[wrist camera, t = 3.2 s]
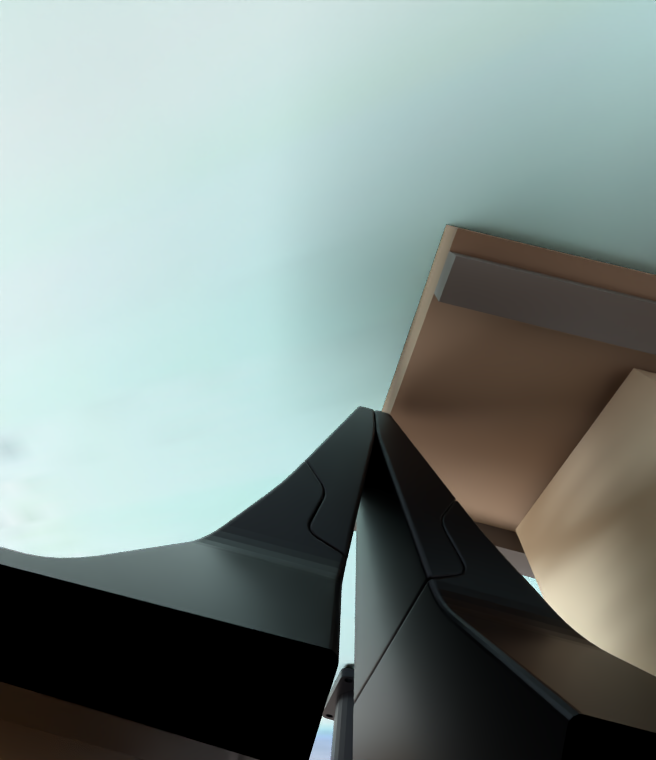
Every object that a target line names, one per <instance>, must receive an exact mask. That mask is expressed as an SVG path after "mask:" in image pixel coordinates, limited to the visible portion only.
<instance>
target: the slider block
mask: <svg viewBox="0 0 656 760" xmlns="http://www.w3.org/2000/svg"><path fill="white" fill-rule="evenodd" d="M515 530H516V533H517V535H518V537H519V540H520V542H521V545H522V547H523V550H524V552H525V554H526V557H527V559H528V562H529V564H530V566H531V569H532V571H533V574H534V576H535V579H536V581H537V583H538V586H539V588H540V591H541V593H542V595H543V598H544V600H545V601H546V602H547V603H548V604H549V605H550V606H551V608H552V609H553V610H554V611H555V612H556V613H557V614H558V615H559V616H560V617H561V618H562V619H563V620H564V621H565V622H566V623H567V624H568V625H569V626H571V627H572V628H573V629H574V630H575V631H576V632H578V633H579V634H580V635H582V636H583V637H584V638H586V639H587V640H588V641H590V642H591V643H593V644H594V645H596V646H598V647H599V648H601V649H602V650H604V651H606V652H608V653H610V654H612V655H614V656H616V657H618V658H620V659H622V660H624V661H626V662H628V663H630V664H632V665H634V666H636V667H638V668H640V669H642V670H644V671H646V672H648V673H650V674H652V675H654V676H656V373H652V372H648V371H644V370H640V369H636V368H633V370H632V371H631V372H630V374H629V375H628V376H627V378H626V379H625V381H624V382H623V383H622V385H621V386H620V387H619V389H618V390H617V391H616V393H615V394H614V396H613V397H612V398H611V400H610V401H609V402H608V404H607V405H606V406H605V408H604V409H603V411H602V412H601V413H600V415H599V416H598V417H597V419H596V420H595V422H594V423H593V424H592V426H591V427H590V428H589V430H588V431H587V432H586V434H585V435H584V437H583V438H582V439H581V441H580V442H579V443H578V445H577V446H576V447H575V449H574V450H573V452H572V453H571V454H570V456H569V457H568V458H567V460H566V461H565V462H564V464H563V465H562V467H561V468H560V469H559V471H558V472H557V473H556V475H555V476H554V478H553V479H552V480H551V482H550V483H549V484H548V486H547V487H546V488H545V490H544V491H543V493H542V494H541V495H540V497H539V498H538V499H537V501H536V502H535V503H534V505H533V506H532V508H531V509H530V510H529V512H528V513H527V514H526V516H525V517H524V518H523V520H522V521H521V523H520V524H519V525H518V527H517V528H516V529H515Z"/></svg>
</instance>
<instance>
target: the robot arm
mask: <svg viewBox="0 0 656 760" xmlns="http://www.w3.org/2000/svg"><path fill="white" fill-rule="evenodd" d="M356 519H357V532H356V595H355V658H354V669H351V668H343V669H342V670H341V671H340V673H339V675H338V677H337V679H336V681H335V683H334V685H333V687H332V689H331V686H332V683H333V680H334V677H335V674H336V670H337V667H338V662H339V639H340V614H341V590H342V582H343V576H344V571H345V566H346V561H347V558H348V553H349V549H350V545H351V540H352V536H353V532H354V527H355V523H356ZM330 689H331V691H330ZM329 692H330V693H329ZM322 716H323V717H325V718H327V719H331V720H334V727H333V738H332V749H331V760H656V676H654V675H652V674H650V673H648V672H646V671H644V670H642V669H640V668H638V667H636V666H634V665H632V664H630V663H628V662H626V661H624V660H622V659H620V658H618V657H616V656H614V655H612V654H610V653H608V652H606V651H604V650H602V649H601V648H599V647H598V646H596V645H594V644H593V643H591V642H590V641H588V640H587V639H586V638H584V637H583V636H582V635H580V634H579V633H578V632H576V631H575V630H574V629H573V628H572V627H571V626H569V625H568V624H567V623H566V622H565V621H564V620H563V619H562V618H561V617H560V616H559V615H558V614H557V613H556V612H555V611H554V610H553V609H552V608H551V606H550V605H549V604H548V603H547V602H546V601H545V600H544V599H543V598H542V597H541V596H540V594H539V593H538V592H537V591H536V590H535V589H534V588H533V587H532V586H531V585H530V584H529V583H528V581H527V580H526V579H525V578H524V577H523V576H522V575H521V574H520V573H519V572H518V571H517V569H516V568H515V567H514V566H513V565H512V564H511V563H510V562H509V561H508V560H507V559H506V557H505V556H504V555H503V554H502V553H501V552H500V551H499V550H498V549H497V547H496V546H495V545H494V544H493V543H492V542H491V541H490V540H489V538H488V537H487V536H486V535H485V534H484V533H483V532H482V530H481V529H480V528H479V527H478V525H477V524H476V523H475V522H474V521H473V519H472V518H471V517H470V516H469V514H468V513H467V512H466V511H465V509H464V508H463V507H462V506H461V504H460V503H459V502H458V501H456V498H455V497H454V496H453V494H452V493H451V492H450V490H449V489H448V488H447V487H446V485H445V484H444V483H443V481H442V480H441V479H440V478H439V476H438V475H437V474H436V472H435V471H434V470H433V469H432V467H431V466H430V465H429V464H428V462H427V461H426V460H425V458H424V457H423V456H422V455H421V453H420V452H419V451H418V449H417V448H416V447H415V446H414V444H413V443H412V442H411V440H410V439H409V438H408V437H407V435H406V434H405V433H404V432H403V430H402V429H401V428H400V426H399V425H398V424H397V423H396V421H395V420H394V419H393V417H392V416H391V415H390V414H389V413H385V412H381V411H374V410H373V409H369V408H365V407H361V406H360V407H358V408H357V409H356V410H355V411H354V412H353V413H352V414H351V415H350V416H349V417H348V418H347V419H346V420H345V421H344V422H343V423H342V424H341V425H340V426H339V427H338V428H337V429H336V430H335V431H334V432H333V433H332V434H331V435H330V436H329V437H328V438H327V439H326V440H325V441H324V442H323V443H322V444H321V445H320V446H319V447H318V448H317V449H316V450H315V451H314V452H313V453H312V454H311V455H310V456H309V457H308V458H307V459H306V460H305V462H303V463H302V464H301V465H300V466H299V467H298V468H297V469H296V470H295V471H294V472H293V473H292V474H291V475H289V476H288V477H287V478H286V479H285V480H284V481H283V482H282V483H280V484H279V485H278V486H277V487H275V488H274V489H273V490H271V491H270V492H269V493H268V494H266V495H265V496H263V497H262V498H261V499H259V500H258V501H257V502H255V503H254V504H252V505H251V506H250V507H248V508H247V509H246V510H244V511H243V512H241V513H240V514H239V515H237V516H236V517H235V518H233V519H232V520H230V521H229V522H228V523H226V524H225V525H224V526H222V527H221V528H219V529H218V530H216V531H214V532H213V533H211V534H209V535H207V536H205V537H203V538H201V539H198V540H195V541H191V542H185V543H179V544H172V545H165V546H159V547H152V548H146V549H139V550H132V551H126V552H119V553H112V554H106V555H99V556H90V557H81V558H54V557H42V556H36V555H31V554H26V553H22V552H18V551H14V550H11V549H7V548H3V547H0V760H309V757H310V754H311V751H312V747H313V744H314V741H315V737H316V734H317V731H318V728H319V724H320V721H321V718H322Z"/></svg>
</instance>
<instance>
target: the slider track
mask: <svg viewBox="0 0 656 760" xmlns="http://www.w3.org/2000/svg"><path fill="white" fill-rule="evenodd" d="M633 368H636V369H640V370H644V371H648V372H652V373H656V275H655V274H650V273H646V272H642V271H638V270H634V269H630V268H625V267H621V266H617V265H613V264H609V263H605V262H600V261H596V260H592V259H588V258H584V257H580V256H575V255H571V254H567V253H563V252H559V251H555V250H550V249H546V248H542V247H538V246H534V245H530V244H525V243H521V242H517V241H513V240H509V239H505V238H500V237H496V236H492V235H488V234H484V233H479V232H475V231H471V230H467V229H463V228H459V227H454V226H450V225H446V227H445V230H444V233H443V235H442V238H441V241H440V244H439V247H438V250H437V253H436V256H435V259H434V261H433V264H432V267H431V270H430V273H429V276H428V279H427V282H426V285H425V287H424V290H423V293H422V296H421V299H420V302H419V305H418V308H417V310H416V313H415V316H414V319H413V322H412V325H411V328H410V331H409V334H408V336H407V339H406V342H405V345H404V348H403V351H402V354H401V357H400V360H399V362H398V365H397V368H396V371H395V374H394V377H393V380H392V383H391V386H390V388H389V391H388V394H387V397H386V400H385V403H384V406H383V409H382V412H385V413H389V414H390V415H391V416H392V417H393V419H394V420H395V421H396V423H397V424H398V425H399V426H400V428H401V429H402V430H403V432H404V433H405V434H406V435H407V437H408V438H409V439H410V440H411V442H412V443H413V444H414V446H415V447H416V448H417V449H418V451H419V452H420V453H421V455H422V456H423V457H424V458H425V460H426V461H427V462H428V464H429V465H430V466H431V467H432V469H433V470H434V471H435V472H436V474H437V475H438V476H439V478H440V479H441V480H442V481H443V483H444V484H445V485H446V487H447V488H448V489H449V490H450V492H451V493H452V494H453V496H454V497H455V498H456V501H458V502H459V503H460V504H461V506H462V507H463V508H464V509H465V511H466V512H467V513H468V514H469V516H470V517H471V518H472V519H473V521H474V522H475V523H476V524H477V525H478V527H479V528H480V529H481V530H482V532H483V533H484V534H485V535H486V536H487V537H488V538H489V540H490V541H491V542H492V543H493V544H494V545H495V546H496V547H497V549H498V550H499V551H500V552H501V553H502V554H503V555H504V556H505V557H506V559H507V560H508V561H509V562H510V563H511V564H512V565H513V566H514V567H515V568H516V569H517V571H518V572H519V573H520V574H521V575H524V576H528V577H532V578H535V576H534V574H533V571H532V569H531V566H530V564H529V562H528V559H527V557H526V554H525V552H524V550H523V547H522V545H521V542H520V540H519V537H518V535H517V533H516V530H515V529H516V528H517V527H518V525H519V524H520V523H521V521H522V520H523V518H524V517H525V516H526V514H527V513H528V512H529V510H530V509H531V508H532V506H533V505H534V503H535V502H536V501H537V499H538V498H539V497H540V495H541V494H542V493H543V491H544V490H545V488H546V487H547V486H548V484H549V483H550V482H551V480H552V479H553V478H554V476H555V475H556V473H557V472H558V471H559V469H560V468H561V467H562V465H563V464H564V462H565V461H566V460H567V458H568V457H569V456H570V454H571V453H572V452H573V450H574V449H575V447H576V446H577V445H578V443H579V442H580V441H581V439H582V438H583V437H584V435H585V434H586V432H587V431H588V430H589V428H590V427H591V426H592V424H593V423H594V422H595V420H596V419H597V417H598V416H599V415H600V413H601V412H602V411H603V409H604V408H605V406H606V405H607V404H608V402H609V401H610V400H611V398H612V397H613V396H614V394H615V393H616V391H617V390H618V389H619V387H620V386H621V385H622V383H623V382H624V381H625V379H626V378H627V376H628V375H629V374H630V372H631V371H632V370H633ZM354 531H357V519H356V523H355V527H354Z"/></svg>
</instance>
